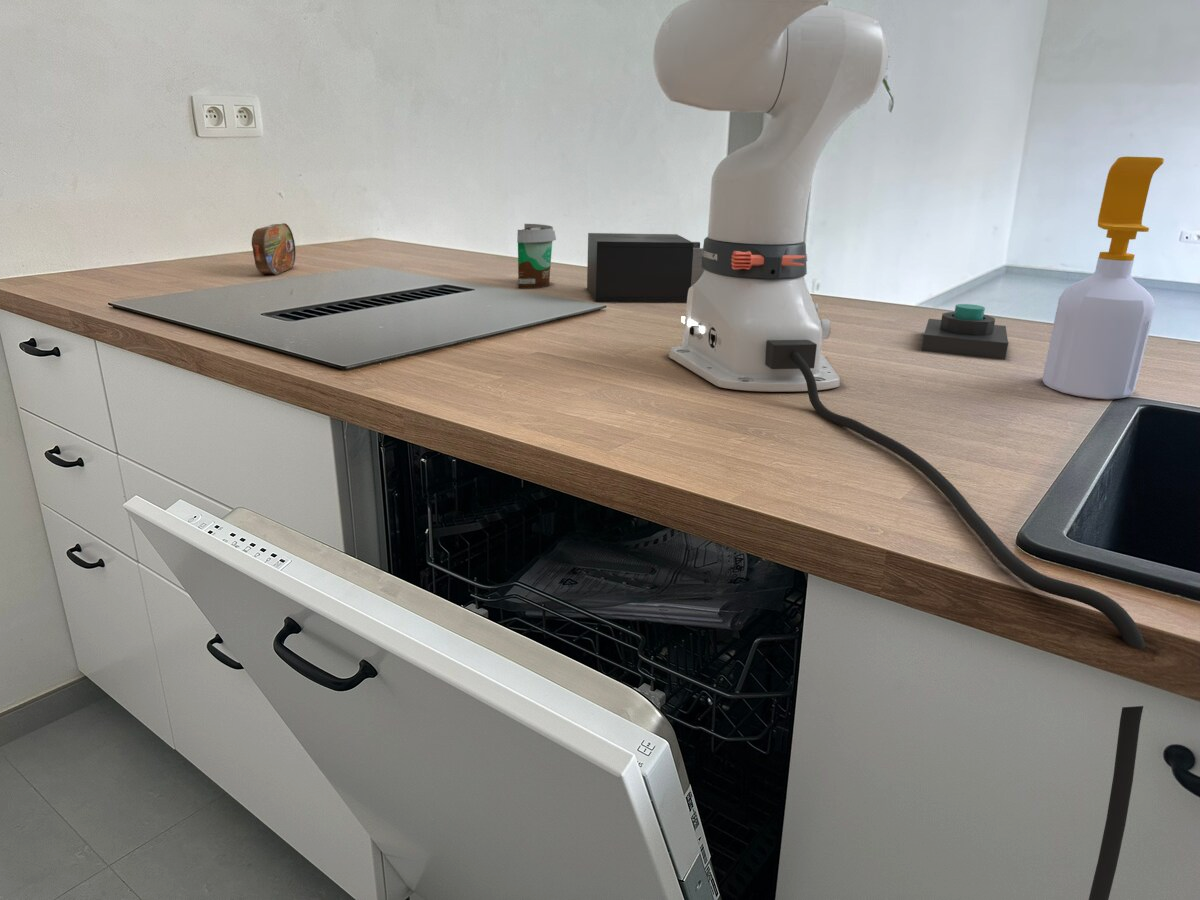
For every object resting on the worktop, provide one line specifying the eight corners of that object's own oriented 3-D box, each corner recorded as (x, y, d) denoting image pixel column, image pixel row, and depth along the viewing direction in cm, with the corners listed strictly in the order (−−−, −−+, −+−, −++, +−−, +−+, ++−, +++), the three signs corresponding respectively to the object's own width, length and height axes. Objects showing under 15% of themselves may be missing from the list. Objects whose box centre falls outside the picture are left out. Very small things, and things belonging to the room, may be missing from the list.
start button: (982, 323, 112) (985, 309, 111) (953, 320, 113) (955, 307, 112) (982, 318, 115) (984, 305, 114) (953, 315, 116) (955, 303, 115)
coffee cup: (553, 290, 148) (553, 231, 144) (517, 289, 148) (517, 230, 145) (557, 279, 159) (558, 224, 156) (524, 278, 160) (524, 223, 156)
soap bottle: (1046, 394, 93) (1097, 155, 85) (1037, 375, 101) (1083, 155, 93) (1140, 404, 90) (1202, 158, 82) (1123, 383, 98) (1178, 157, 90)
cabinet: (674, 289, 152) (677, 234, 149) (690, 302, 141) (693, 242, 137) (586, 289, 150) (588, 232, 147) (595, 302, 139) (597, 241, 135)
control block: (1005, 360, 108) (1011, 328, 107) (921, 351, 112) (926, 320, 110) (1002, 341, 118) (1008, 312, 117) (926, 333, 122) (930, 305, 121)
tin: (269, 277, 153) (264, 229, 150) (251, 277, 153) (246, 228, 150) (298, 266, 167) (294, 221, 164) (282, 265, 167) (278, 220, 164)
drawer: (732, 285, 153) (735, 240, 150) (750, 296, 142) (755, 248, 140) (628, 284, 150) (630, 239, 148) (639, 296, 140) (641, 247, 137)
